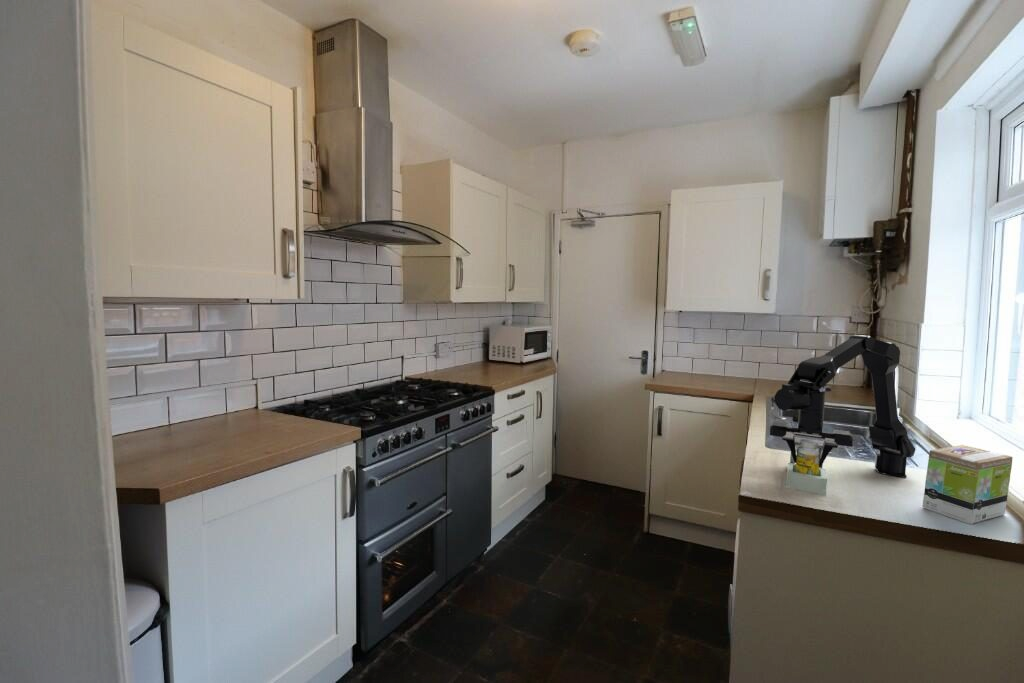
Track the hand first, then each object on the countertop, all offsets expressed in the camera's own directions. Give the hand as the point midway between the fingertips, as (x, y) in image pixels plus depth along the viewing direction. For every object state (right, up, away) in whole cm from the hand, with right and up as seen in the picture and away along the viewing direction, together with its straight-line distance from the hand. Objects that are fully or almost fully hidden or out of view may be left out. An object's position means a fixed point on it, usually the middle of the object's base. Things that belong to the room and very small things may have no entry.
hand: (807, 464), depth 130 cm
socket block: (+2, -5, +4) cm, 7 cm away
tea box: (+29, -8, -15) cm, 33 cm away
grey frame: (+6, -5, +10) cm, 13 cm away
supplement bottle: (0, -3, 0) cm, 3 cm away
